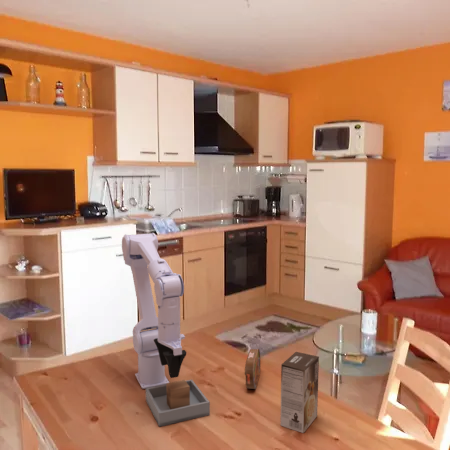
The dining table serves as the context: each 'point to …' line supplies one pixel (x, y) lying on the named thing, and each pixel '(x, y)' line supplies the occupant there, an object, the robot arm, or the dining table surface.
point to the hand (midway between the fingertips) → (169, 370)
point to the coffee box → (299, 391)
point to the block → (178, 394)
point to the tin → (252, 368)
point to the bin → (167, 416)
